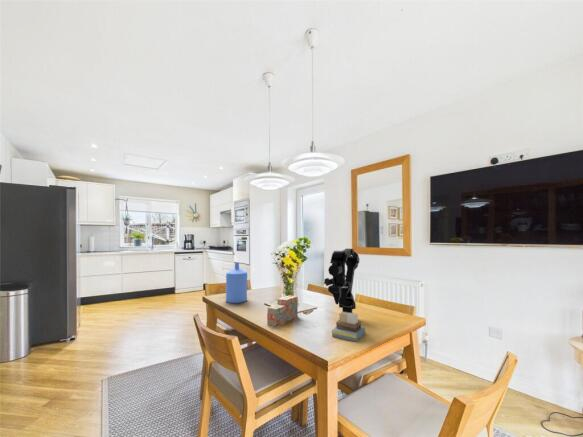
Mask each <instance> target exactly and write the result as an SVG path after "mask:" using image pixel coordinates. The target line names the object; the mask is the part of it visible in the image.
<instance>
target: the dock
mask: <svg viewBox="0 0 583 437" xmlns="http://www.w3.org/2000/svg"><path fill="white" fill-rule="evenodd" d="M365 334H366V327H365V326H362V325H361V329H359V330H357V332H352V331H347V330H342V329H337V328H336V326H335V327H334V328H333V329H331V336H332V337H334V338H337V339H338V338H339V339H343V340H347V341H351V342H357V341H359V340H360V339H361V338H362V337H363V336H364V335H365Z"/></svg>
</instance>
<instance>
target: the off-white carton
mask: <svg viewBox="0 0 583 437" xmlns="http://www.w3.org/2000/svg"><path fill="white" fill-rule="evenodd" d="M358 318H359V314H358V313H355V312H352V313H349V314H347V323H349V324H356V323H358V321H359V319H358Z"/></svg>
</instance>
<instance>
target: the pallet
mask: <svg viewBox="0 0 583 437" xmlns="http://www.w3.org/2000/svg"><path fill="white" fill-rule="evenodd" d="M361 326H362V322H361V321H359V320H358V323H356V324H349V323H344V322H339V320H338V321H336V325H335V327H336V328H337V329H342V330H347V331H352V332H357V330H359V329H361Z"/></svg>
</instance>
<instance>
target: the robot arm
mask: <svg viewBox="0 0 583 437" xmlns="http://www.w3.org/2000/svg"><path fill="white" fill-rule="evenodd" d="M329 264H331V265H329V267H328V273H329V275H330V276H332V278H329V277H326V278H324V281H323V282H324V283H323V284H324V285H325V287H327V291H328V292H329V293H330V294H331V295H332V296H333V299H334V303H335V305H338V308H340V309H342V311H341V312H349V313H353V310H355V309H356V308H357V305H356V300H355V299H354V298H355V297H354V294H353V293H352V292H353V286H354V285H353V284H354V277H355V271H356V269H357V268H358V266H359V264H360V257H359V254H358V253H357V252H356V251H355V250H354V248H345V249H342V250H334V251H332V254H331V259H330V262H329Z"/></svg>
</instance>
